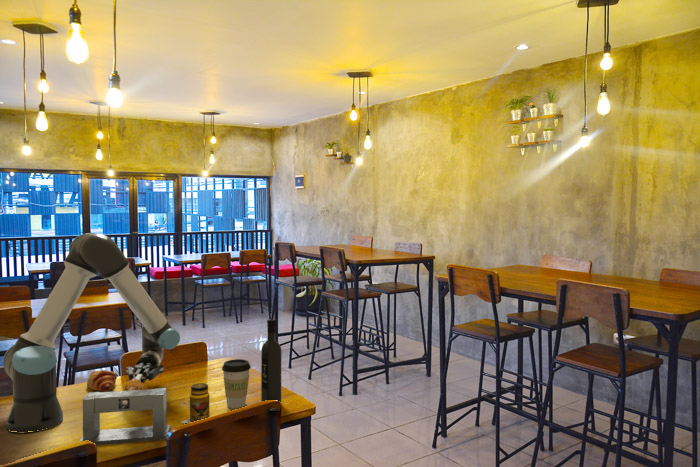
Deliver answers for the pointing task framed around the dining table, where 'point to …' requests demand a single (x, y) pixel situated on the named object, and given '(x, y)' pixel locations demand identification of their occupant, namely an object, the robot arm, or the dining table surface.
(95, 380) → the croissant
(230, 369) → the coffee cup
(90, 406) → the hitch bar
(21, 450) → the dining table surface
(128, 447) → the dining table surface
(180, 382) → the dining table surface
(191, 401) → the condiment
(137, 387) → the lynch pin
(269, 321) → the wine bottle
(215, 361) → the dining table surface
